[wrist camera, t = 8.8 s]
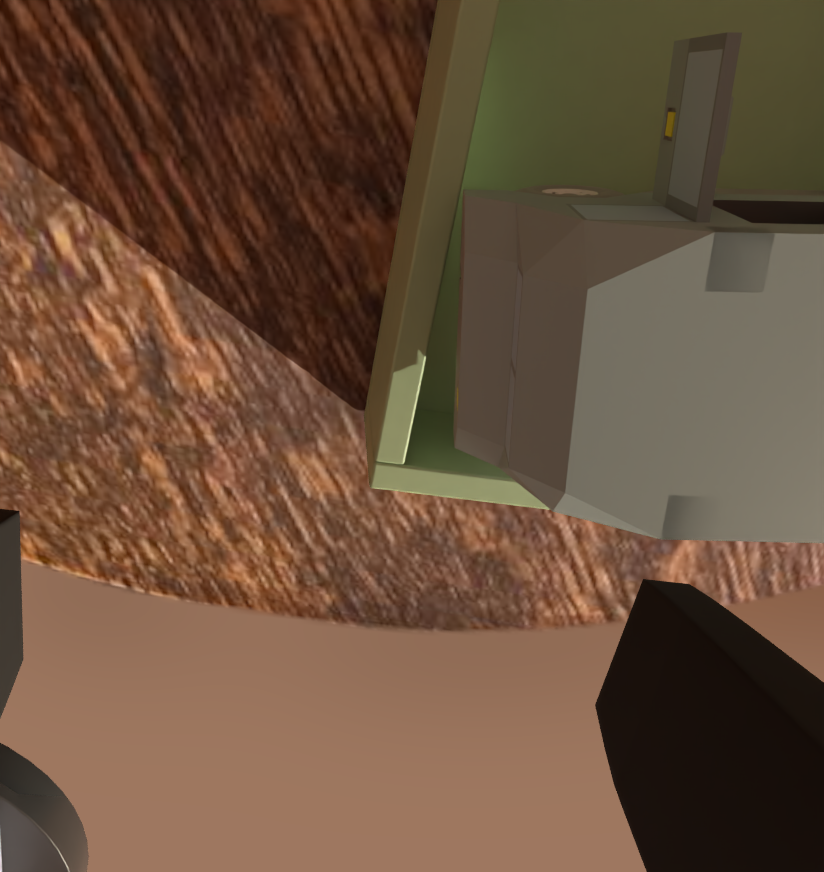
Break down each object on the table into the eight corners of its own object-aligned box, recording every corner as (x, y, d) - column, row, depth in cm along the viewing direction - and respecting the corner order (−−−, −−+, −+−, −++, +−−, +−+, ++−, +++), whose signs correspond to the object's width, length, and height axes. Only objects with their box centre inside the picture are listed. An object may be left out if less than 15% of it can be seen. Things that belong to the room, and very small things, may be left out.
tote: (757, 470, 20) (833, 545, 17) (363, 417, 18) (368, 489, 15) (1036, -185, 14) (1229, -253, 11) (498, -348, 12) (551, -480, 9)
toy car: (955, 414, 15) (1170, 551, 11) (451, 404, 15) (460, 534, 11) (1078, 52, 13) (1429, 39, 8) (465, 44, 13) (484, 24, 8)
